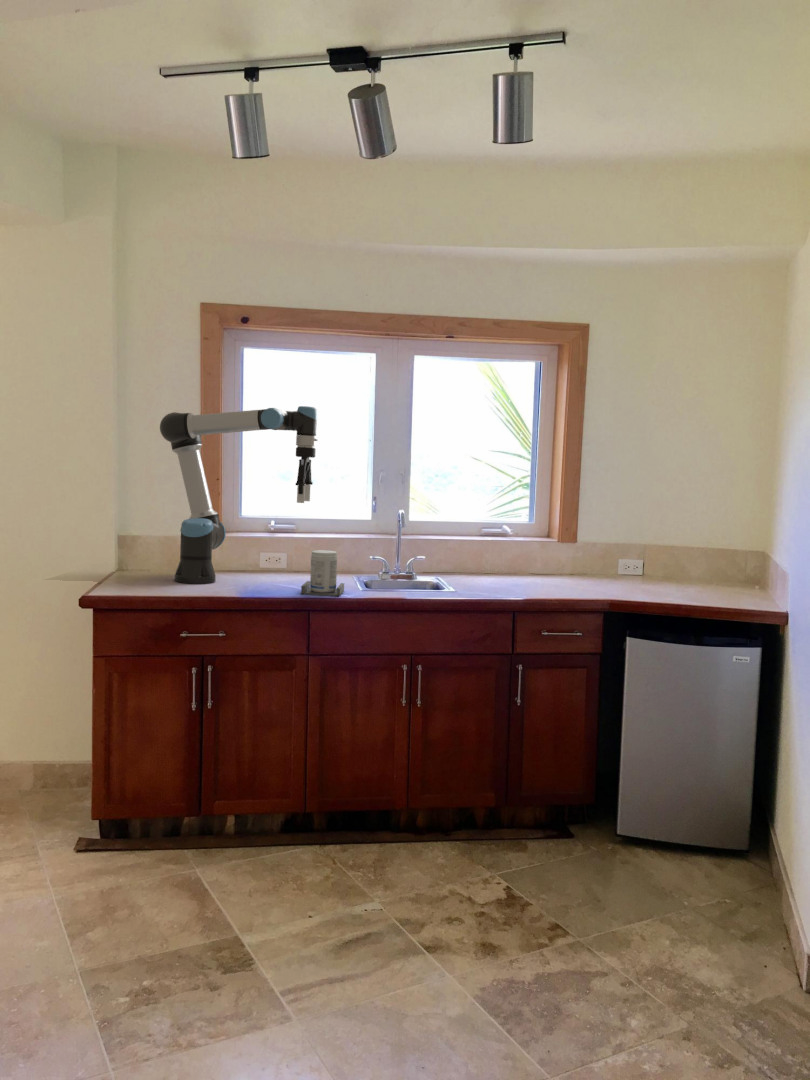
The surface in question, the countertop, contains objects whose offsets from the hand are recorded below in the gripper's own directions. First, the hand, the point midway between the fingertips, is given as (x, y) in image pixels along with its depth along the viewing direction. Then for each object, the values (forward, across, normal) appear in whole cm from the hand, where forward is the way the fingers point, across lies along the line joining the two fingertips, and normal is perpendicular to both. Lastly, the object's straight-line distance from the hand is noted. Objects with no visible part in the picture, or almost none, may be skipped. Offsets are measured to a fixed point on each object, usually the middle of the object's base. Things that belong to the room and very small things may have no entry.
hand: (303, 502), depth 349 cm
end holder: (+32, -20, -12) cm, 40 cm away
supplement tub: (+31, -21, -12) cm, 39 cm away
